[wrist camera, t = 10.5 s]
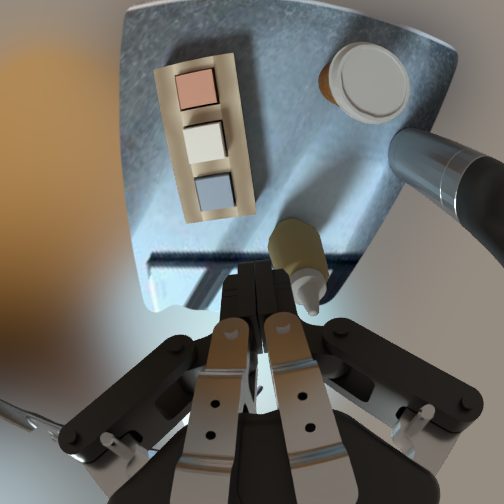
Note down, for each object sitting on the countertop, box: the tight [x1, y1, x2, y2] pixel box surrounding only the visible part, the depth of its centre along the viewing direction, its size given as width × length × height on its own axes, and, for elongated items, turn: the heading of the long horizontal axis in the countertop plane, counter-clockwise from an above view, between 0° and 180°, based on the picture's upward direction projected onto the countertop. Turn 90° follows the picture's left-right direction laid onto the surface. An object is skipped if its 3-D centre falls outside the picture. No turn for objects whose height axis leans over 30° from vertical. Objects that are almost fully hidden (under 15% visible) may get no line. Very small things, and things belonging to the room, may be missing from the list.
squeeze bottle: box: [268, 218, 329, 316], centre depth 37 cm, size 8×8×18 cm
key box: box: [154, 53, 256, 224], centre depth 35 cm, size 10×22×4 cm, turn 7°
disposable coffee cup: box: [318, 42, 410, 124], centre depth 27 cm, size 10×10×12 cm
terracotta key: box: [176, 69, 219, 109], centre depth 30 cm, size 4×4×3 cm
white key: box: [183, 121, 227, 164], centre depth 33 cm, size 4×4×3 cm
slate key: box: [195, 172, 235, 211], centre depth 38 cm, size 4×4×3 cm
